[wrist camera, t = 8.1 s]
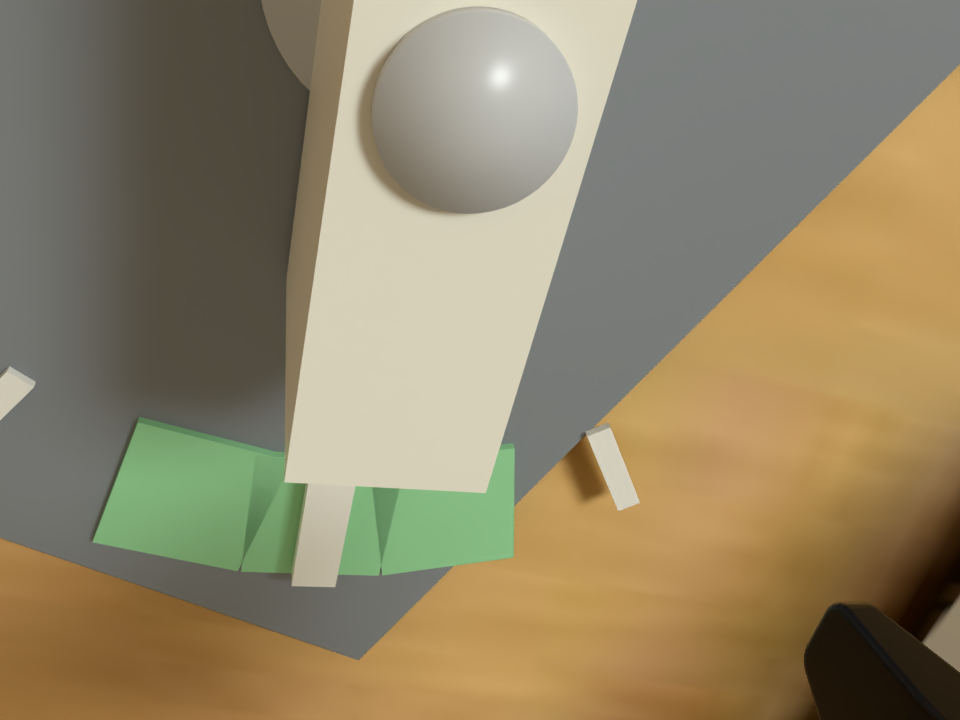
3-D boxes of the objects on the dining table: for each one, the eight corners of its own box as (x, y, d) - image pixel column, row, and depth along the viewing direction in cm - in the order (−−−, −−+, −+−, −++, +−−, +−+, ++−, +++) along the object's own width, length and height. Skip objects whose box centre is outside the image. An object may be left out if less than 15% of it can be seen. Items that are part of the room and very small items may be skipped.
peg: (607, -439, 11) (810, -529, 6) (373, 570, 20) (395, 801, 16) (386, -515, 10) (453, -670, 6) (250, 566, 19) (238, 807, 15)
